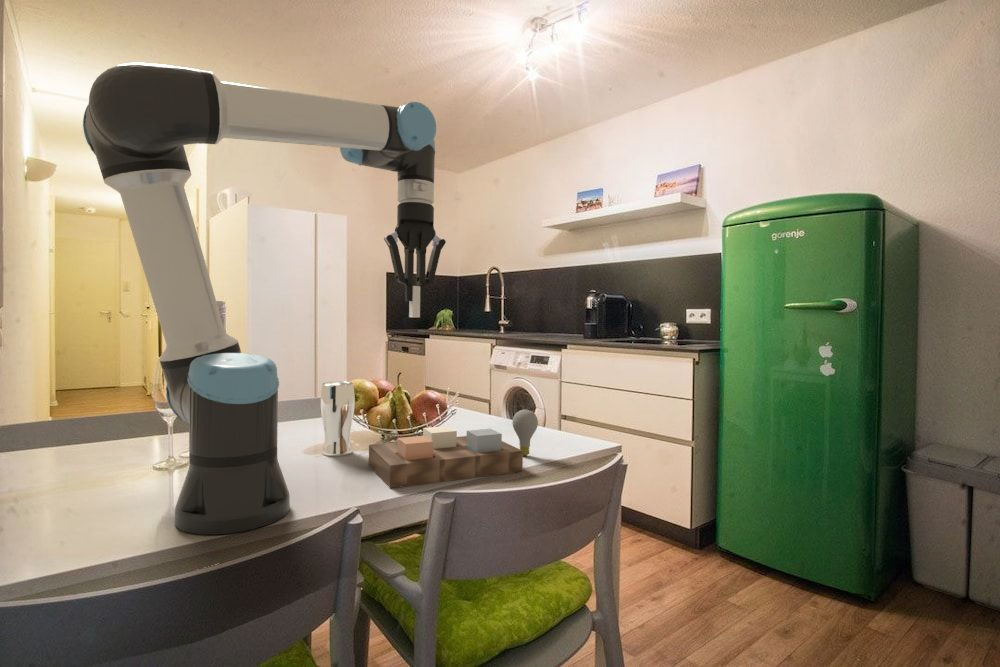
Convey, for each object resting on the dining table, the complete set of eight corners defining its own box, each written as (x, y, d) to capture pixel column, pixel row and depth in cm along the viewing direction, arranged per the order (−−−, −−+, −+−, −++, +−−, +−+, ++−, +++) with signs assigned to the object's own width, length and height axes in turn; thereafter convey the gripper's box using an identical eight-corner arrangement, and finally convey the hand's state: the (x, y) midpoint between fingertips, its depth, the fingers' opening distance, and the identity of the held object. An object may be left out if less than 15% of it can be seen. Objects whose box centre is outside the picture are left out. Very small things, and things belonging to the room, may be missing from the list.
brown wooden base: (389, 488, 93) (390, 465, 93) (368, 464, 108) (368, 444, 107) (522, 471, 105) (522, 450, 105) (487, 452, 119) (487, 434, 119)
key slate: (476, 462, 103) (477, 436, 103) (466, 455, 108) (466, 430, 108) (501, 459, 105) (501, 433, 105) (489, 453, 110) (490, 428, 110)
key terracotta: (405, 471, 97) (405, 444, 97) (397, 464, 101) (397, 437, 101) (432, 468, 99) (433, 441, 99) (423, 461, 104) (424, 435, 104)
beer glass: (348, 457, 113) (349, 385, 112) (315, 456, 113) (315, 385, 113) (358, 449, 120) (358, 381, 119) (326, 448, 120) (327, 381, 120)
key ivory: (431, 458, 105) (431, 433, 105) (422, 452, 110) (423, 428, 110) (456, 455, 108) (456, 431, 107) (446, 449, 112) (447, 426, 112)
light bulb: (527, 460, 113) (528, 412, 112) (506, 456, 116) (507, 409, 116) (542, 455, 117) (542, 409, 117) (521, 451, 120) (522, 406, 120)
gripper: (389, 197, 107) (388, 317, 107) (451, 204, 112) (450, 318, 113) (380, 204, 113) (379, 316, 114) (439, 210, 119) (437, 317, 120)
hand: (414, 317), depth 114 cm, fingers closed
